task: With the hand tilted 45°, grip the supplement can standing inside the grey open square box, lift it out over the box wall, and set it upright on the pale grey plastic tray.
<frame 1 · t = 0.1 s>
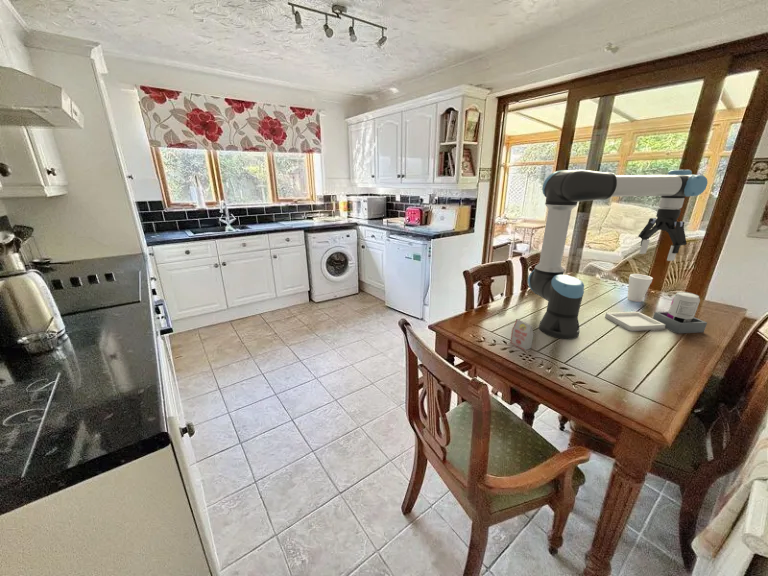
hand: (655, 256, 140), 28 cm above the table, tool pointing down, fingers open, 13 cm apart
tray: (633, 323, 140), on the table
supplement can: (676, 326, 137), resting in grey open square box
grey open square box: (676, 326, 137), on the table
foam cup: (634, 300, 167), on the table
white paper packet: (520, 345, 123), on the table
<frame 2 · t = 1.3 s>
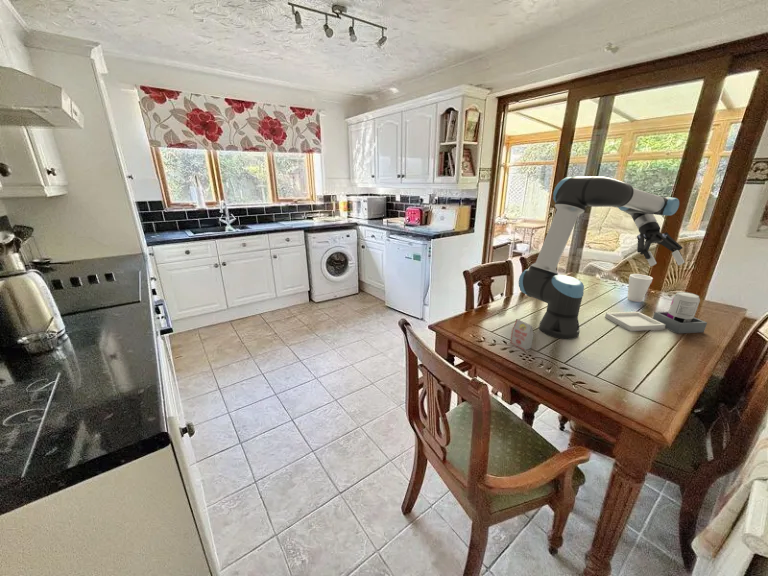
hand: (667, 264, 140), 25 cm above the table, tool tilted 45°, fingers open, 13 cm apart
nothing on the table moved.
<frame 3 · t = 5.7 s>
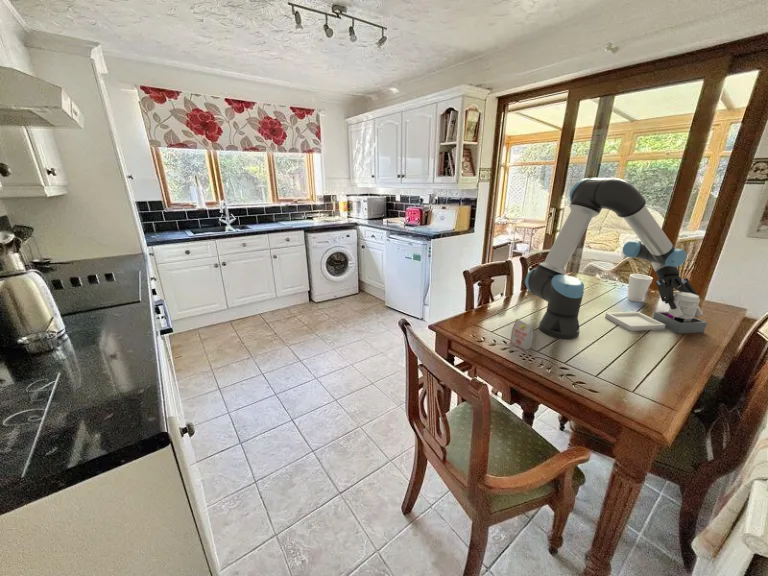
hand: (689, 315, 132), 7 cm above the table, tool tilted 45°, fingers closed on supplement can, 8 cm apart
supplement can: (676, 326, 137), resting in grey open square box, touching gripper
everything else where it was.
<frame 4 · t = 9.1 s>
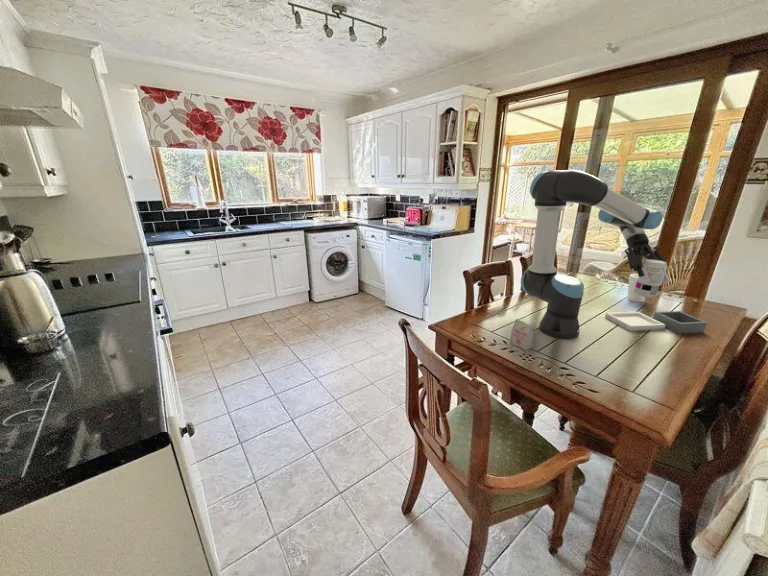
hand: (656, 282, 130), 20 cm above the table, tool tilted 45°, fingers closed on supplement can, 8 cm apart
supplement can: (645, 295, 136), point 13 cm above the table, touching gripper
everything else where it was.
when the fingers open (9 cm above the table, at t = 12.7 s): supplement can drops 1 cm, resting on tray.
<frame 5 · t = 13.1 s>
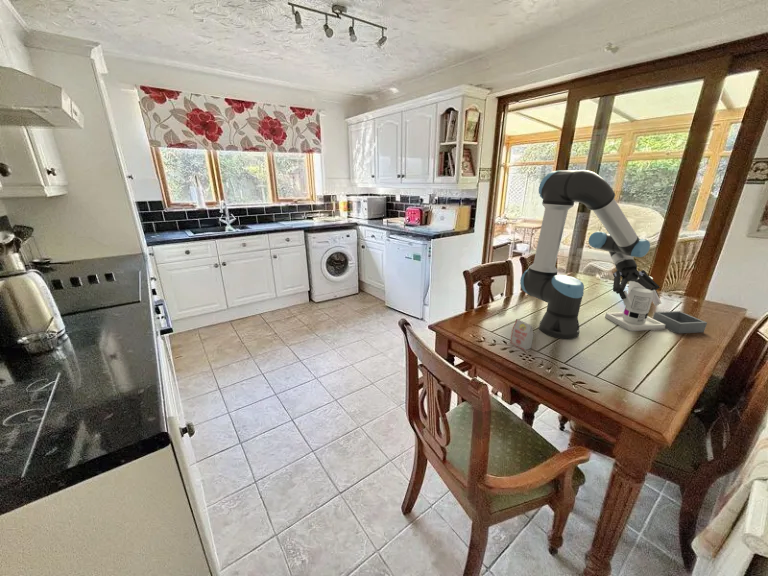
hand: (643, 305, 135), 10 cm above the table, tool tilted 45°, fingers open, 13 cm apart
supplement can: (633, 321, 140), point 1 cm above the table, touching tray
everything else where it was.
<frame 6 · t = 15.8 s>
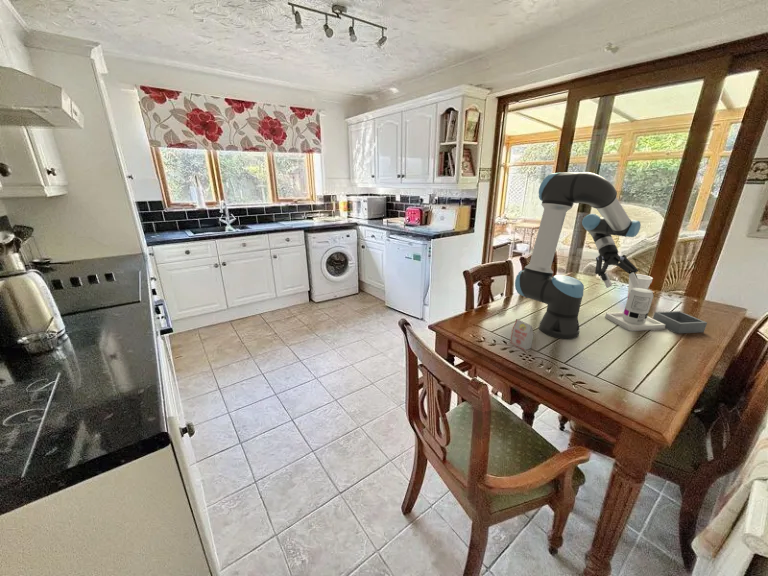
hand: (623, 286, 146), 14 cm above the table, tool tilted 45°, fingers open, 13 cm apart
nothing on the table moved.
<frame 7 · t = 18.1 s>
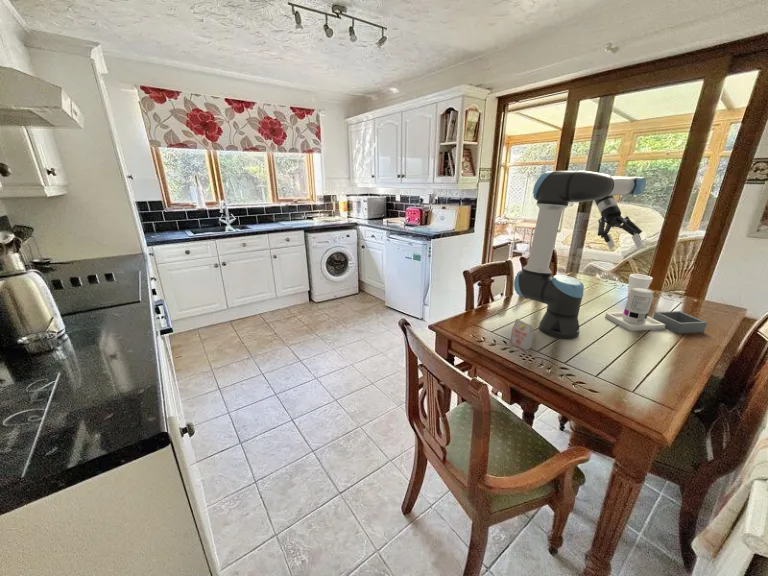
hand: (626, 247, 143), 32 cm above the table, tool tilted 45°, fingers open, 13 cm apart
nothing on the table moved.
at the end: supplement can inside the target area on the tray (0.2 cm from its centre), point 0.6 cm above the tray's base; supplement can tilted 0°; the gripper is holding nothing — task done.
